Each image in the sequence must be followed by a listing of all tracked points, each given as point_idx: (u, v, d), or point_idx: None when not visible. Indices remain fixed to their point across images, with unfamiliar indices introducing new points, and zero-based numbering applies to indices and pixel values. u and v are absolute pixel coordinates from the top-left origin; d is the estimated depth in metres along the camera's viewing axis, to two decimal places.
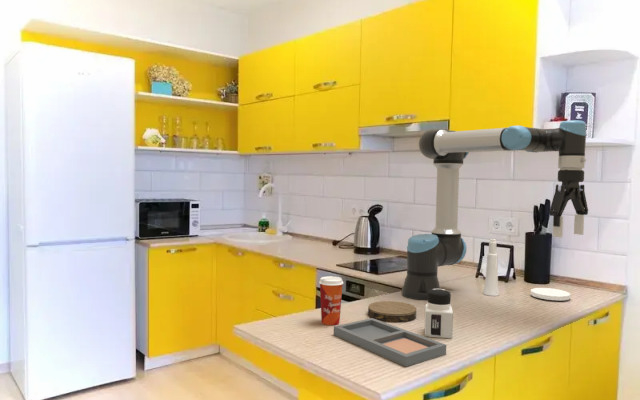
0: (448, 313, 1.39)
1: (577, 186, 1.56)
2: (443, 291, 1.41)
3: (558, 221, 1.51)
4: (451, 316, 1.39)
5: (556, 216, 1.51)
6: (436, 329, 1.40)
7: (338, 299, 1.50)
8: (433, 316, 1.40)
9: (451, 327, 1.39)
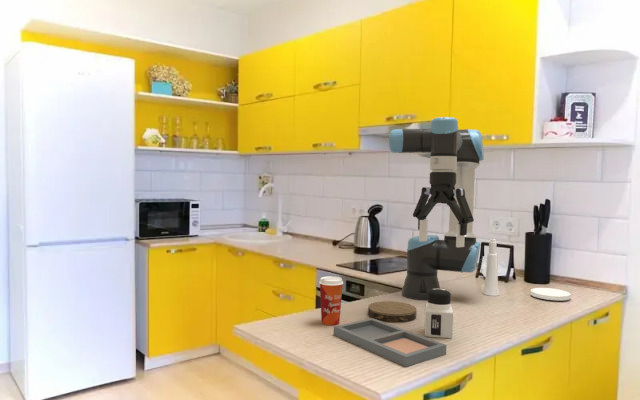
0: (448, 313, 1.39)
1: (446, 190, 1.39)
2: (443, 291, 1.41)
3: (419, 224, 1.48)
4: (451, 316, 1.39)
5: None
6: (436, 329, 1.40)
7: (338, 299, 1.50)
8: (433, 316, 1.40)
9: (451, 327, 1.39)
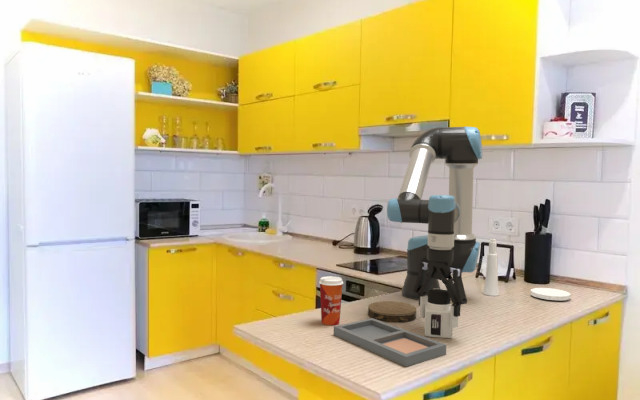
0: (448, 313, 1.39)
1: (444, 267, 1.40)
2: (443, 291, 1.41)
3: (419, 300, 1.48)
4: None
5: None
6: (436, 329, 1.40)
7: (338, 299, 1.50)
8: (433, 316, 1.40)
9: None
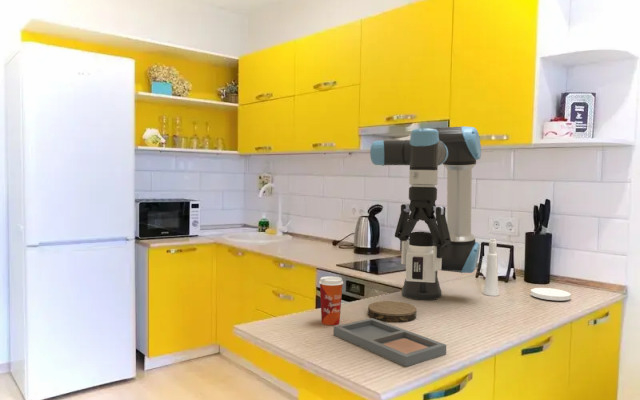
0: (431, 255, 1.28)
1: (426, 206, 1.29)
2: (426, 232, 1.31)
3: (401, 245, 1.37)
4: None
5: None
6: (418, 273, 1.29)
7: (338, 299, 1.50)
8: (414, 258, 1.29)
9: None
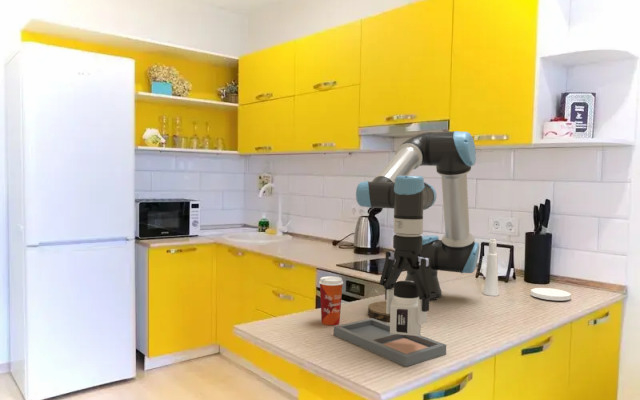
0: (415, 307, 1.23)
1: (411, 256, 1.24)
2: (411, 283, 1.26)
3: (386, 294, 1.33)
4: None
5: None
6: (402, 325, 1.24)
7: (338, 299, 1.50)
8: (398, 311, 1.24)
9: None
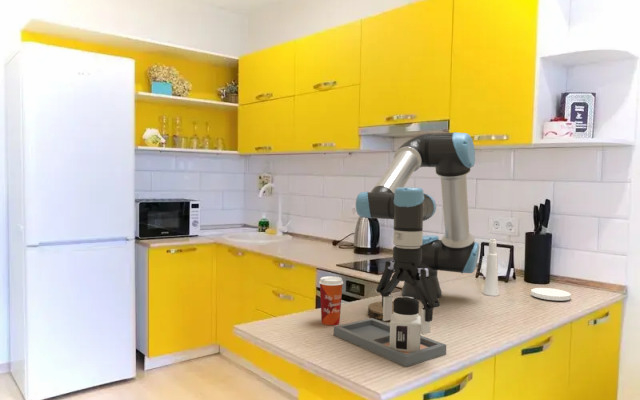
0: (415, 324, 1.24)
1: (410, 268, 1.25)
2: (410, 299, 1.26)
3: None
4: (418, 328, 1.24)
5: None
6: (402, 342, 1.25)
7: (338, 299, 1.50)
8: (398, 328, 1.25)
9: (418, 340, 1.24)
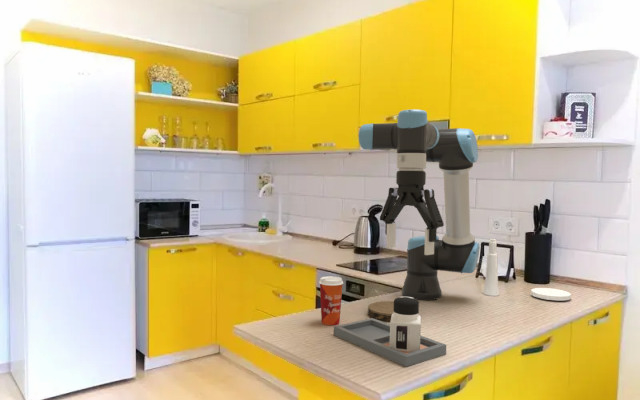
0: (415, 324, 1.24)
1: (414, 191, 1.24)
2: (410, 299, 1.26)
3: (386, 229, 1.33)
4: (418, 328, 1.24)
5: None
6: (402, 342, 1.25)
7: (338, 299, 1.50)
8: (398, 328, 1.25)
9: (418, 340, 1.24)
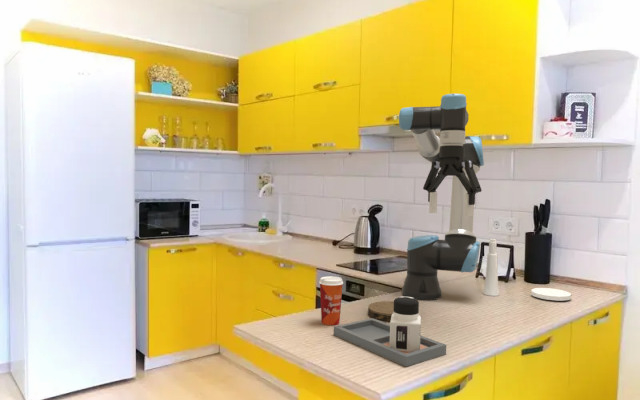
0: (415, 324, 1.24)
1: (455, 162, 1.47)
2: (410, 299, 1.26)
3: (429, 197, 1.56)
4: (418, 328, 1.24)
5: None
6: (402, 342, 1.25)
7: (338, 299, 1.50)
8: (398, 328, 1.25)
9: (418, 340, 1.24)
